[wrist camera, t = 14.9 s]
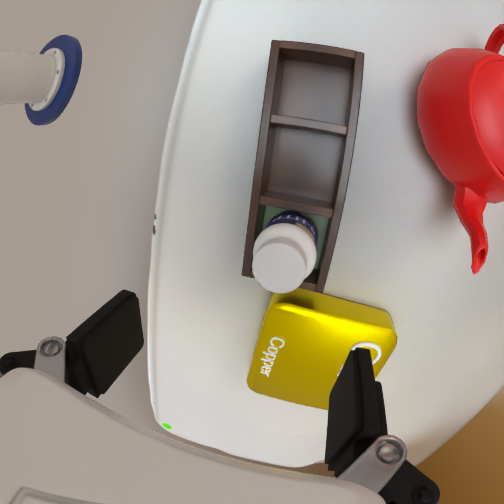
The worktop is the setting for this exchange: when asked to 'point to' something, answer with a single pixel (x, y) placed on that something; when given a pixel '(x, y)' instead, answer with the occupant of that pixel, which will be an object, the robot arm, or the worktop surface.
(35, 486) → the robot arm
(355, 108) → the rack
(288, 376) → the element tile
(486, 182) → the teapot
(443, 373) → the worktop surface
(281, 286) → the pill bottle
